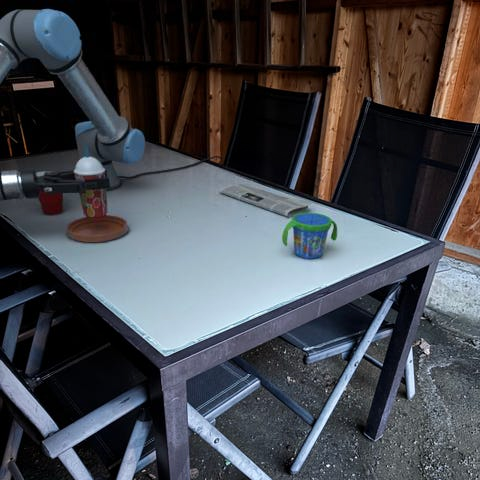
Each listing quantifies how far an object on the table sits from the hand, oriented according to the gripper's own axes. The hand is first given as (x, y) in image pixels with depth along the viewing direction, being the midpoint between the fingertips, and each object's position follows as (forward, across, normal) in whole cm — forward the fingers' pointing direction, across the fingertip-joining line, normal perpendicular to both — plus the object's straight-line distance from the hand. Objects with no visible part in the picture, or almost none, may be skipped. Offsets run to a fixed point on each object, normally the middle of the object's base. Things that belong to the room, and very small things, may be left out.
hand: (108, 178), depth 135 cm
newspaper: (+54, -14, -16) cm, 58 cm away
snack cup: (+49, +32, -16) cm, 61 cm away
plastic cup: (-18, -22, -16) cm, 32 cm away
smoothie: (-5, 0, -11) cm, 12 cm away
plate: (-5, 0, -16) cm, 16 cm away
